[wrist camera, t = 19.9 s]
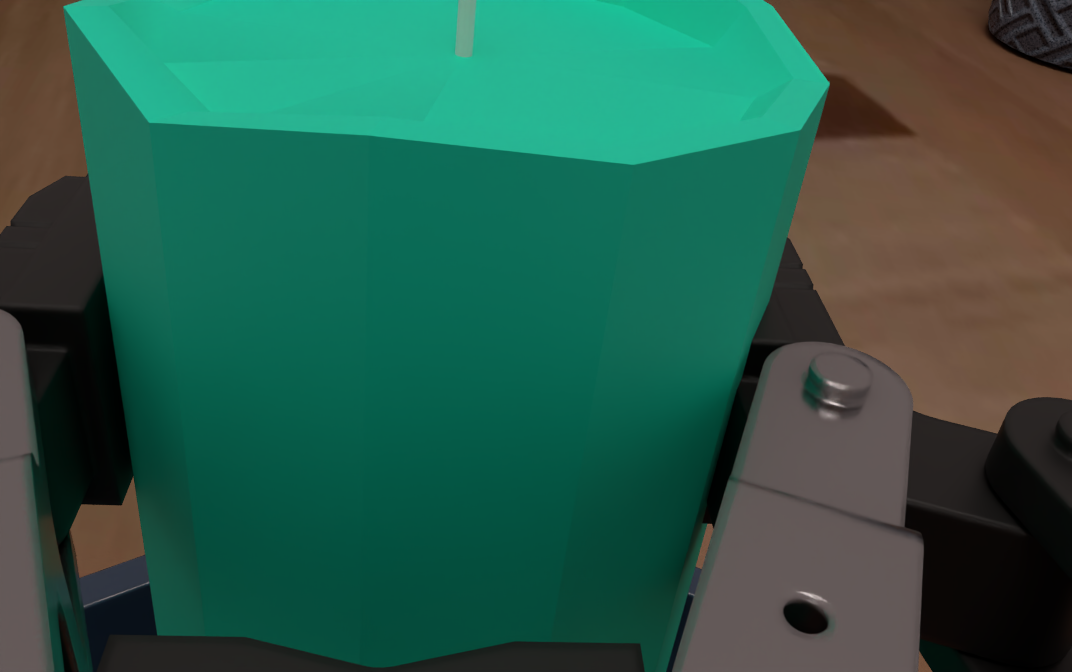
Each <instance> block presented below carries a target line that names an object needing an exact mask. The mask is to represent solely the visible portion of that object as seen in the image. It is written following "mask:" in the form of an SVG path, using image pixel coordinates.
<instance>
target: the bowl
mask: <svg viewBox="0 0 1072 672" xmlns="http://www.w3.org/2000/svg"><path fill="white" fill-rule="evenodd" d="M701 571H702V569H700V568H697V567H695V570H694V573H693V577H692V580H691V584H690V588H689V591H688V595H687V598H686V602H685V606H684V609H683V613H682V616H681V620H680V624H679V627H678V631H677V634H676V638H675V642H674V645H673V649H672V652H671V656H670V659H669V663H668V667H667V670H666V672H672V669H673V666H674V662H675V659H676V656H677V652H678V649H679V645H680V642H681V639H682V635H683V632H684V628H685V625H686V622H687V618H688V615H689V611H690V608H691V605H692V601H693V598H694V594H695V591H696V588H697V584H698V581H699V577H700V574H701ZM79 579H80V586H81V593H82V600H83V606H84V613H85V620H86V627H87V633H88V640H89V647H90V654H91V660H92V667H93V672H97V669H98V666H99V663H100V660H101V658H102V655H103V652H104V649H105V646H106V644H107V641H108V638H109V635H157V630H156V623H155V616H154V609H153V603H152V596H151V589H150V583H149V576H148V569H147V563H146V556H145V555H143V556H140V557H137V558H135V559H132V560H129V561H126V562H123V563H120V564H118V565H115V566H112V567H109V568H106V569H104V570H101V571H98V572H95V573H92V574H89V575H87V576H84V577H81V578H79Z"/></svg>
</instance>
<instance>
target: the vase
mask: <svg viewBox="0 0 1072 672" xmlns="http://www.w3.org/2000/svg"><path fill="white" fill-rule="evenodd" d="M988 27H989V30H990V31H991V33H992V34H993V35H994V36H995V37H996V38H998V39H999V40H1000V41H1002V42H1003V43H1005V44H1007V45H1008V46H1010V47H1012V48H1014V49H1016V50H1018V51H1019V52H1021V53H1023V54H1026V55H1028V56H1030V57H1032V58H1035V59H1038V60H1040V61H1043V62H1046V63H1049V64H1052V65H1055V66H1058V67H1062V68H1065V69H1069V70H1072V0H993V1H992V3H991V6H990V9H989V19H988Z"/></svg>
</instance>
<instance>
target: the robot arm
mask: <svg viewBox="0 0 1072 672" xmlns="http://www.w3.org/2000/svg"><path fill="white" fill-rule="evenodd" d="M802 267H803V264H802V262H801V260H800V258H799V256H798V254H797V252H796V250H795V248H794V246H793V244H792V242H791V241H790V239H789V238H787V239H786V243H785V247H784V250H783V254H782V257H781V261H780V265H779V268H778V272H777V275H776V279H775V282H774V286H773V290H772V293H771V297H770V300H769V303H768V305H767V307H766V310H765V312H764V314H763V316H762V319H761V321H760V323H759V326H758V328H757V330H756V333H755V335H754V337H753V340H752V342H751V346H750V350H749V353H748V357H747V361H746V364H745V368H744V372H743V375H742V379H741V381H740V383H739V386H738V388H737V392H736V395H735V399H734V403H733V406H732V410H731V414H730V418H729V421H728V425H727V429H726V432H725V436H724V440H723V444H722V447H721V451H720V455H719V458H718V462H717V466H716V470H715V473H714V477H713V481H712V484H711V488H710V492H709V496H708V499H707V507H706V511H705V515H704V518H703V522H702V523H705V524H712V525H713V529H714V530H713V533H712V537H711V540H710V544H709V547H708V550H707V554H706V557H705V561H704V564H703V567H702V571H701V574H700V577H699V581H698V584H697V588H696V591H695V594H694V598H693V601H692V605H691V608H690V611H689V615H688V618H687V622H686V625H685V628H684V632H683V635H682V639H681V642H680V645H679V649H678V652H677V656H676V659H675V662H674V666H673V669H672V672H918V660H919V651H920V653H921V654H922V656H923V658H924V659H925V661H926V662H927V664H928V665H929V667H930V668H931V670H932V671H933V672H1072V400H1067V399H1062V398H1051V397H1042V398H1032V399H1027V400H1024V401H1021V402H1019V403H1017V404H1016V405H1014V406H1013V407H1011V409H1010V410H1009V411H1008V412H1007V414H1006V417H1005V419H1004V421H1003V423H1002V425H1001V428H1000V430H999V432H998V434H996V433H992V432H988V431H984V430H980V429H976V428H972V427H968V426H964V425H960V424H956V423H952V422H948V421H944V420H940V419H936V418H933V417H930V416H926V415H923V414H921V413H918V412H915V411H913V398H912V395H911V392H910V390H909V388H908V387H907V385H906V383H905V382H904V381H903V380H902V379H901V377H900V376H899V375H898V374H897V373H896V372H894V371H893V370H892V369H891V368H890V367H888V366H887V365H885V364H884V363H882V362H881V361H879V360H877V359H875V358H873V357H872V356H870V355H868V354H865V353H863V352H860V351H858V350H855V349H852V348H849V347H846V346H845V345H844V343H843V341H842V339H841V338H840V336H839V334H838V332H837V330H836V328H835V326H834V324H833V322H832V320H831V318H830V316H829V314H828V312H827V310H826V308H825V306H824V305H823V303H822V301H821V299H820V297H819V295H818V293H817V291H816V290H813V283H812V281H811V279H810V277H809V275H808V274H807V272H806V270H805V269H802ZM132 478H133V469H132V462H131V456H130V449H129V442H128V436H127V429H126V422H125V416H124V409H123V402H122V396H121V389H120V382H119V376H118V369H117V362H116V356H115V349H114V342H113V336H112V329H111V322H110V316H109V309H108V302H107V295H106V289H105V282H104V275H103V269H102V262H101V255H100V249H99V242H98V235H97V229H96V222H95V215H94V209H93V202H92V195H91V189H90V182H89V175H88V174H87V176H86V177H75V176H65V177H63V178H61V179H59V180H58V181H56V182H54V183H52V184H50V185H49V186H47V187H45V188H43V189H42V190H40V191H38V192H36V193H35V194H33V195H31V196H29V198H28V199H27V200H26V202H25V203H24V204H23V206H22V207H21V208H20V209H19V211H18V212H17V213H16V215H15V216H14V217H13V219H12V220H11V226H6V228H5V229H4V230H3V232H2V233H1V234H0V672H93V667H92V660H91V654H90V647H89V640H88V633H87V627H86V620H85V613H84V606H83V600H82V593H81V586H80V579H79V573H78V566H77V559H76V552H75V548H74V544H73V539H72V535H71V531H70V528H71V526H72V524H73V522H74V519H75V517H76V515H77V513H78V510H79V508H80V506H81V504H92V505H122V503H123V500H124V498H125V495H126V493H127V490H128V488H129V485H130V483H131V480H132ZM97 672H645V670H644V664H643V658H642V652H641V645H640V643H583V642H522V641H514V642H509V643H504V644H499V645H495V646H490V647H485V648H480V649H475V650H470V651H465V652H460V653H456V654H451V655H446V656H441V657H436V658H431V659H426V660H422V661H417V662H412V663H407V664H402V665H397V666H392V667H384V668H381V667H368V666H363V665H359V664H355V663H351V662H347V661H342V660H338V659H334V658H330V657H326V656H322V655H318V654H313V653H309V652H305V651H301V650H297V649H293V648H289V647H285V646H280V645H276V644H272V643H268V642H264V641H260V640H256V639H252V638H247V637H222V636H162V635H109V638H108V641H107V644H106V646H105V649H104V652H103V655H102V658H101V660H100V663H99V666H98V669H97Z"/></svg>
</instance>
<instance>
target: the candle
mask: <svg viewBox="0 0 1072 672" xmlns="http://www.w3.org/2000/svg"><path fill="white" fill-rule="evenodd" d="M63 8H64V15H65V22H66V28H67V35H68V42H69V48H70V55H71V62H72V68H73V75H74V82H75V88H76V95H77V102H78V108H79V115H80V122H81V128H82V135H83V142H84V148H85V155H86V162H87V169H88V175H89V182H90V189H91V195H92V202H93V209H94V215H95V222H96V229H97V235H98V242H99V249H100V255H101V262H102V269H103V275H104V282H105V289H106V295H107V302H108V309H109V316H110V322H111V329H112V336H113V342H114V349H115V356H116V362H117V369H118V376H119V382H120V389H121V396H122V402H123V409H124V416H125V422H126V429H127V436H128V442H129V449H130V456H131V462H132V469H133V476H134V483H135V489H136V496H137V503H138V509H139V516H140V523H141V529H142V536H143V543H144V549H145V556H146V563H147V569H148V576H149V583H150V589H151V596H152V603H153V609H154V616H155V623H156V630H157V635H162V636H222V637H247V638H252V639H256V640H260V641H264V642H268V643H272V644H276V645H280V646H285V647H289V648H293V649H297V650H301V651H305V652H309V653H313V654H318V655H322V656H326V657H330V658H334V659H338V660H342V661H347V662H351V663H355V664H359V665H363V666H368V667H381V668H384V667H392V666H397V665H402V664H407V663H412V662H417V661H422V660H426V659H431V658H436V657H441V656H446V655H451V654H456V653H460V652H465V651H470V650H475V649H480V648H485V647H490V646H495V645H499V644H504V643H509V642H514V641H522V642H583V643H640V645H641V652H642V658H643V664H644V670H645V672H666V670H667V667H668V663H669V659H670V656H671V652H672V649H673V645H674V642H675V638H676V634H677V631H678V627H679V624H680V620H681V616H682V613H683V609H684V606H685V602H686V598H687V595H688V591H689V588H690V584H691V580H692V577H693V573H694V570H695V566H696V563H697V559H698V555H699V552H700V548H701V545H702V541H703V537H704V534H705V530H706V527H707V524H705V523H702V522H703V518H704V515H705V511H706V507H707V499H708V496H709V492H710V488H711V484H712V481H713V477H714V473H715V470H716V466H717V462H718V458H719V455H720V451H721V447H722V444H723V440H724V436H725V432H726V429H727V425H728V421H729V418H730V414H731V410H732V406H733V403H734V399H735V395H736V392H737V388H738V386H739V383H740V381H741V379H742V375H743V372H744V368H745V364H746V361H747V357H748V353H749V350H750V346H751V342H752V340H753V337H754V335H755V333H756V330H757V328H758V326H759V323H760V321H761V319H762V316H763V314H764V312H765V310H766V307H767V305H768V303H769V300H770V297H771V293H772V290H773V286H774V282H775V279H776V275H777V272H778V268H779V265H780V261H781V257H782V254H783V250H784V247H785V243H786V239H787V236H788V232H789V229H790V225H791V221H792V218H793V214H794V211H795V207H796V203H797V200H798V196H799V193H800V189H801V186H802V182H803V178H804V175H805V171H806V168H807V164H808V160H809V157H810V153H811V150H812V146H813V142H814V139H815V135H816V132H817V128H818V124H819V121H820V117H821V114H822V110H823V107H824V103H825V99H826V96H827V92H828V89H829V85H830V83H829V82H828V81H827V79H826V78H825V77H824V75H823V74H822V73H821V71H820V70H819V69H818V67H817V66H816V64H815V63H814V62H813V60H812V59H811V58H810V56H809V55H808V54H807V52H806V51H805V50H804V48H803V47H802V46H801V44H800V43H799V41H798V40H797V39H796V37H795V36H794V35H793V33H792V32H791V31H790V29H789V28H788V27H787V25H786V24H785V22H784V21H783V20H782V18H781V17H780V16H779V14H778V13H777V12H776V10H775V9H774V8H773V6H771V5H770V4H768V3H767V2H765V1H763V0H82V1H79V2H76V3H72V4H69V5H66V6H63Z"/></svg>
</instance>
